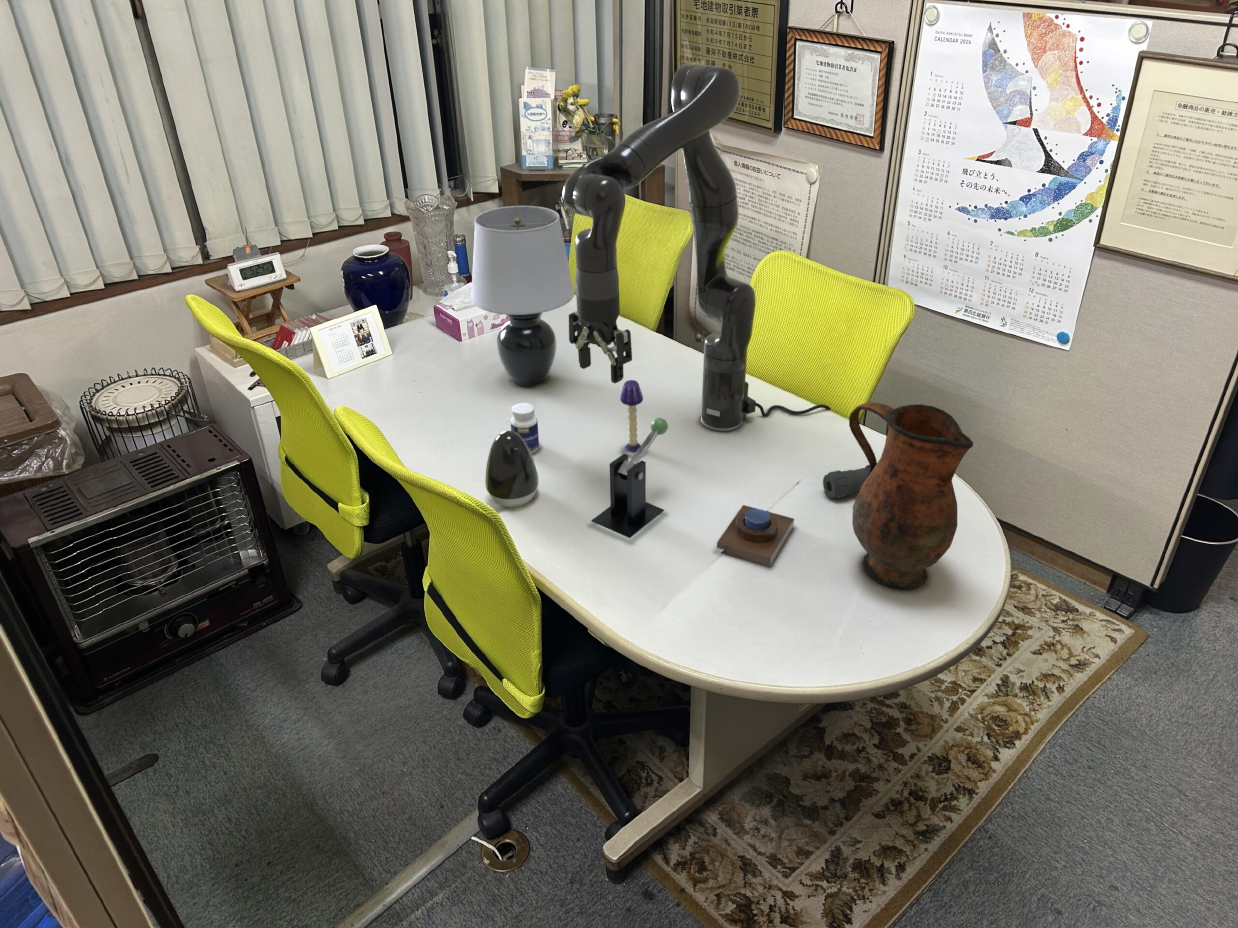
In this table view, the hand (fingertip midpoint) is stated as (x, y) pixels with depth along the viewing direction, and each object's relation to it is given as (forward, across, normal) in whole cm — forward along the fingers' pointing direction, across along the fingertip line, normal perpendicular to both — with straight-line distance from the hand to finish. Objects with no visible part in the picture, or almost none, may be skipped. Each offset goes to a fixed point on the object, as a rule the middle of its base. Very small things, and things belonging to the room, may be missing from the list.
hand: (600, 374), depth 163 cm
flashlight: (+26, -36, -36) cm, 57 cm away
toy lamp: (+26, +6, -13) cm, 30 cm away
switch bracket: (+25, -11, +4) cm, 28 cm away
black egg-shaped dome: (+25, +10, +16) cm, 31 cm away
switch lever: (+13, -10, -2) cm, 17 cm away
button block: (+26, -32, -8) cm, 42 cm away
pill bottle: (+26, +23, +2) cm, 35 cm away
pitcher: (+26, -52, -18) cm, 61 cm away
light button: (+22, -32, -8) cm, 39 cm away
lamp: (+26, +49, -20) cm, 58 cm away
